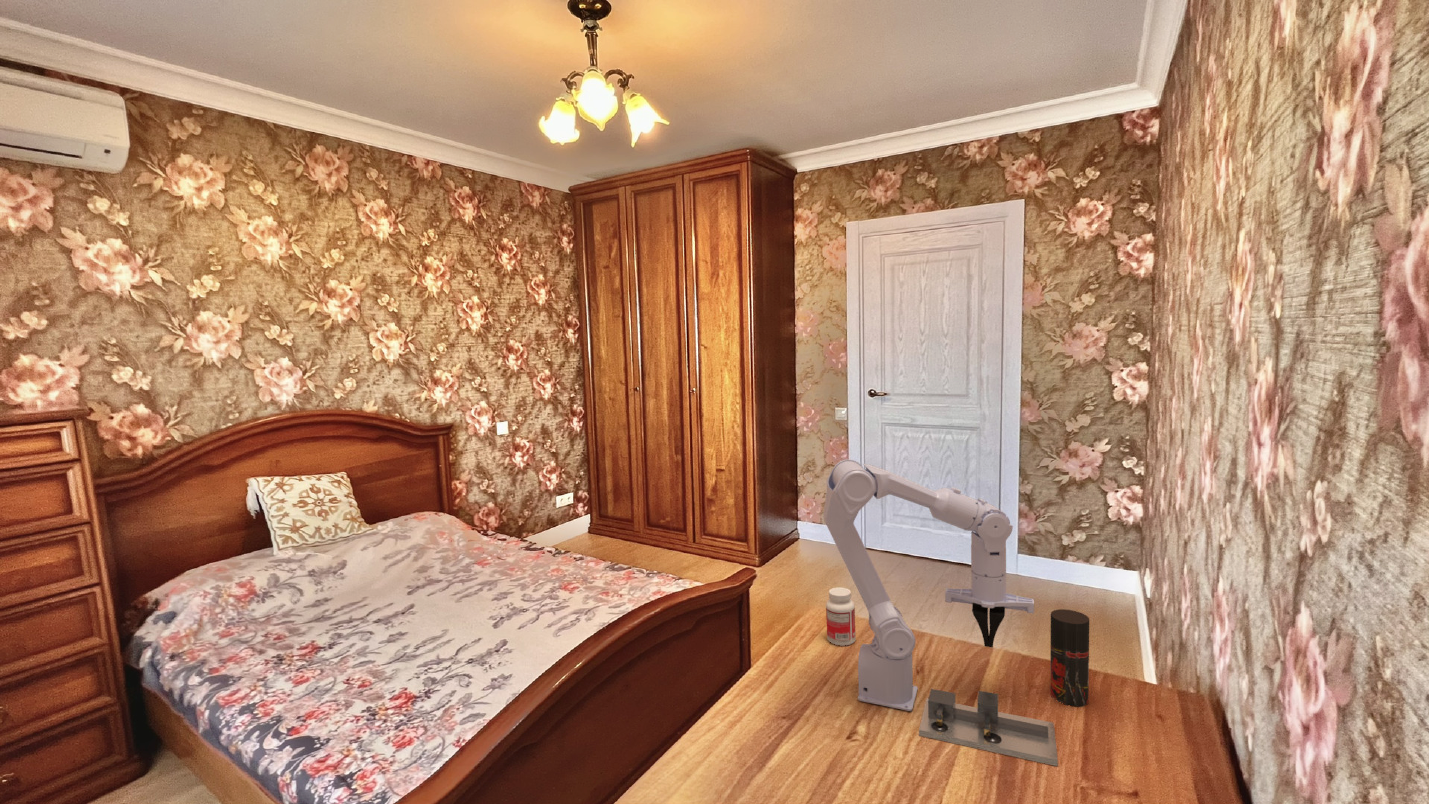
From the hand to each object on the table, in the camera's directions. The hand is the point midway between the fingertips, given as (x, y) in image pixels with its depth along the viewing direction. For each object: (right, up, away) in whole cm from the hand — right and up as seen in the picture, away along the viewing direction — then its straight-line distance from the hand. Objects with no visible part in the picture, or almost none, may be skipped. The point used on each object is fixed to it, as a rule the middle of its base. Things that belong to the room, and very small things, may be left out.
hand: (988, 644), depth 112 cm
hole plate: (-5, -11, -10) cm, 15 cm away
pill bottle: (-22, -9, +24) cm, 33 cm away
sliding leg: (-5, -9, -10) cm, 15 cm away
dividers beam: (-5, -10, -10) cm, 15 cm away
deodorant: (+14, -9, -1) cm, 17 cm away
